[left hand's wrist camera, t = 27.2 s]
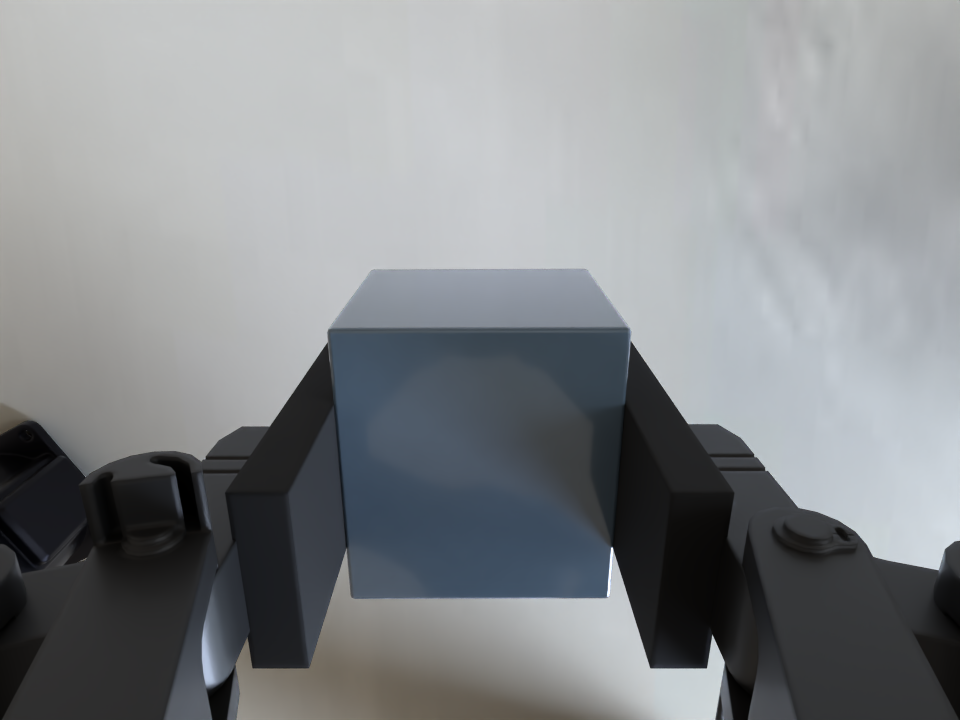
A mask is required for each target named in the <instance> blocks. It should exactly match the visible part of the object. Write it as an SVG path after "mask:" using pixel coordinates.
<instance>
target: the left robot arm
mask: <svg viewBox="0 0 960 720" xmlns="http://www.w3.org/2000/svg"><path fill="white" fill-rule="evenodd" d="M79 489H80V493H81V497H82V502H83V506H84V510H85V514H86V518H87V522H88V526H89V530H90V534H91V538H92V542H93V548H92V549H91V551H90V553H89V555H88V557H87V559H86V560H85V561H81V562H77V563H73V564H68V565H63V566H58V567H53V568H47V569H42V570H37V571H32V572H27V573H21V571H20V567H19V564H18V561H17V557H16V554H15V552H14V551H13V550H11V549H10V548H9V547H8V546H6V545H4V544H0V720H236V718H237V710H238V703H239V695H240V692H239V684H238V677H237V671H236V666H235V663H236V661H237V659H238V656H239V654H240V652H241V650H242V648H243V645H244V643H245V641H246V639H247V636H248V642H249V649H250V655H251V661H252V668H309V667H310V664H311V660H312V657H313V654H314V651H315V647H316V644H317V641H318V638H319V635H320V631H321V628H322V625H323V622H324V619H325V615H326V612H327V609H328V606H329V602H330V599H331V596H332V593H333V590H334V586H335V583H336V580H337V577H338V574H339V570H340V567H341V564H342V561H343V558H344V554H345V551H346V548H347V546H346V535H345V523H344V512H343V501H342V489H341V478H340V466H339V455H338V444H337V432H336V421H335V409H334V402H333V393H332V382H331V370H330V359H329V348H328V343H327V344H326V346H325V347H324V349H323V350H322V352H321V353H320V354H319V356H318V357H317V359H316V360H315V362H314V363H313V365H312V366H311V368H310V369H309V370H308V372H307V373H306V375H305V376H304V378H303V379H302V381H301V382H300V384H299V385H298V387H297V388H296V389H295V391H294V392H293V394H292V395H291V397H290V398H289V400H288V401H287V403H286V404H285V405H284V407H283V408H282V410H281V411H280V413H279V414H278V416H277V417H276V419H275V420H274V422H273V423H272V424H271V426H270V427H241V428H239V429H237V430H236V431H234V432H232V433H231V434H229V435H227V436H226V437H224V438H222V439H221V440H219V441H218V442H217V443H216V445H215V446H214V447H213V448H212V450H211V451H210V452H209V453H208V454H207V456H206V460H203V461H202V462H201V461H199V460H198V459H197V458H195V457H194V456H193V455H190V454H186V453H181V452H176V451H162V452H150V453H144V454H138V455H133V456H129V457H126V458H123V459H120V460H117V461H114V462H112V463H109V464H107V465H105V466H103V467H101V468H100V469H98V470H96V471H94V472H92V473H90V474H89V475H88V476H87V477H86V478H85V479H84V480H83V481H82V482H81V483H80V484H79ZM613 549H614V553H615V556H616V559H617V562H618V566H619V569H620V572H621V575H622V578H623V582H624V585H625V588H626V591H627V594H628V598H629V601H630V604H631V607H632V610H633V614H634V617H635V620H636V623H637V627H638V630H639V633H640V636H641V639H642V643H643V646H644V649H645V652H646V655H647V659H648V662H649V665H650V668H707V664H708V658H709V652H710V645H711V639H712V634H713V636H714V639H715V641H716V643H717V645H718V648H719V650H720V652H721V654H722V656H723V659H724V661H725V666H724V671H723V677H722V683H721V689H720V695H719V701H718V707H717V713H716V719H715V720H960V541H956V542H954V543H953V544H951V545H950V546H949V547H947V548H946V549H945V552H944V555H943V558H942V562H941V565H940V568H939V570H933V569H928V568H923V567H918V566H913V565H907V564H902V563H897V562H892V561H887V560H883V559H879V558H875V557H873V556H872V554H871V552H870V550H869V548H868V546H867V545H866V544H865V542H864V541H863V540H862V539H861V538H860V537H859V535H858V534H857V533H856V532H855V531H853V530H852V529H850V528H849V527H847V526H846V525H844V524H843V523H841V522H839V521H838V520H835V519H833V518H830V517H828V516H825V515H823V514H820V513H818V512H814V511H810V510H805V509H800V508H798V507H797V506H796V505H795V503H794V502H793V501H792V500H791V499H790V497H789V496H788V495H787V494H786V492H785V491H784V490H783V489H782V488H781V486H780V485H779V484H778V483H777V481H776V480H775V479H774V478H773V477H772V475H771V474H770V473H769V472H768V471H765V467H764V466H763V464H762V463H761V462H760V461H759V460H758V458H757V457H754V454H753V452H752V451H751V450H750V449H749V447H748V446H747V445H746V444H745V443H744V441H743V440H742V439H741V438H740V437H738V436H736V435H735V434H733V433H731V432H730V431H728V430H726V429H725V428H723V427H721V426H719V425H718V424H687V422H686V421H685V419H684V418H683V416H682V415H681V414H680V412H679V411H678V409H677V408H676V406H675V405H674V403H673V402H672V400H671V399H670V397H669V396H668V395H667V393H666V392H665V390H664V389H663V387H662V386H661V384H660V383H659V381H658V380H657V379H656V377H655V376H654V374H653V373H652V371H651V370H650V368H649V367H648V365H647V364H646V362H645V361H644V360H643V358H642V357H641V355H640V354H639V352H638V351H637V349H636V348H635V346H634V345H633V343H632V342H631V341H630V353H629V366H628V378H627V390H626V402H625V411H624V423H623V435H622V447H621V459H620V472H619V484H618V496H617V508H616V520H615V532H614V544H613Z"/></svg>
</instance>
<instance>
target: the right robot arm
mask: <svg viewBox="0 0 960 720" xmlns="http://www.w3.org/2000/svg"><path fill="white" fill-rule="evenodd" d="M26 431H29V432H30V433H31V435H32V436H29V435H28V434H27V433H26ZM84 479H85V476H84V475H83V474H82V473H81V472H80V471H79V469H78V468H77V467H76V466H75V465H74V464H73V463H72V461H71V460H70V459H69V458H68V457H67V456H66V454H65V453H64V452H63V451H62V450H61V449H60V448H59V446H58V445H57V444H56V443H55V442H54V441H53V439H52V438H51V437H50V436H49V435H48V434H47V433H46V431H45V430H44V429H43V428H42V427H41V426H40V425H39V424H38V423H36V422H34V421H25V422H23V423H21V424H19V425H17V426H16V427H14V428H12V429H10V430H8V431H7V432H5V433H3V434H1V435H0V544H4V545H6V546H8V547H9V548H10V549H11V550H13V551H14V552H15V554H16V557H17V561H18V564H19V567H20V571H21V573H27V572H32V571H37V570H42V569H47V568H53V567H58V566H63V565H68V564H73V563H77V562H79V561H81V560H83V559H85V558H87V557H88V555H89V553H90V551H91V549H92V548H93V542H92V538H91V534H90V530H89V526H88V522H87V518H86V514H85V510H84V506H83V502H82V497H81V493H80V489H79V484H80V483H81V482H82V481H83V480H84Z"/></svg>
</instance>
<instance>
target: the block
mask: <svg viewBox="0 0 960 720" xmlns="http://www.w3.org/2000/svg"><path fill="white" fill-rule="evenodd" d="M327 337H328V348H329V359H330V370H331V382H332V393H333V402H334V409H335V421H336V432H337V444H338V455H339V466H340V478H341V489H342V501H343V512H344V523H345V535H346V546H347V548H346V549H347V560H348V572H349V583H350V594H351V597H352V598H354V599H446V598H607V597H609V595H610V587H611V574H612V562H613V550H614V549H613V544H614V532H615V520H616V508H617V496H618V484H619V472H620V459H621V447H622V435H623V423H624V411H625V402H626V390H627V378H628V366H629V353H630V341H631V330H630V328H629V326H628V325H627V323H626V322H625V321H624V319H623V318H622V317H621V315H620V314H619V312H618V311H617V310H616V308H615V307H614V306H613V304H612V303H611V301H610V300H609V299H608V297H607V296H606V295H605V293H604V292H603V290H602V289H601V288H600V286H599V285H598V283H597V282H596V281H595V279H594V278H593V277H592V275H591V274H590V272H589V271H588V270H586V269H421V270H372V271H371V272H370V273H369V274H368V276H367V277H366V279H365V280H364V281H363V283H362V284H361V285H360V287H359V288H358V289H357V291H356V292H355V294H354V295H353V296H352V298H351V299H350V300H349V302H348V303H347V304H346V306H345V307H344V309H343V310H342V311H341V313H340V314H339V315H338V317H337V318H336V319H335V321H334V322H333V324H332V325H331V326H330V328H329V329H328V332H327Z"/></svg>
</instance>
